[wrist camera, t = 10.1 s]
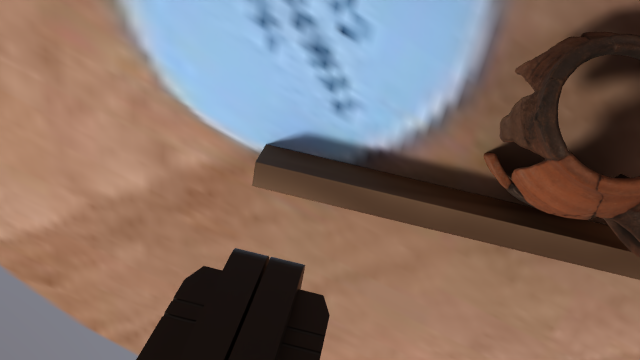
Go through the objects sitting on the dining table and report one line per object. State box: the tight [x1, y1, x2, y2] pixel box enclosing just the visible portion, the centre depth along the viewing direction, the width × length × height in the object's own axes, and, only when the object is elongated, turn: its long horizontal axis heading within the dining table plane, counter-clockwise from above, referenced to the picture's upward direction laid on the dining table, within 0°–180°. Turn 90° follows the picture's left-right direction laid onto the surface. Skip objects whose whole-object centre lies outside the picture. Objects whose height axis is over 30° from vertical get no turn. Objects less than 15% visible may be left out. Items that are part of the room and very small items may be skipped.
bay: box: [252, 144, 640, 280], centre depth 28 cm, size 17×26×4 cm, turn 80°
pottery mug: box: [484, 32, 640, 258], centre depth 29 cm, size 12×9×8 cm
